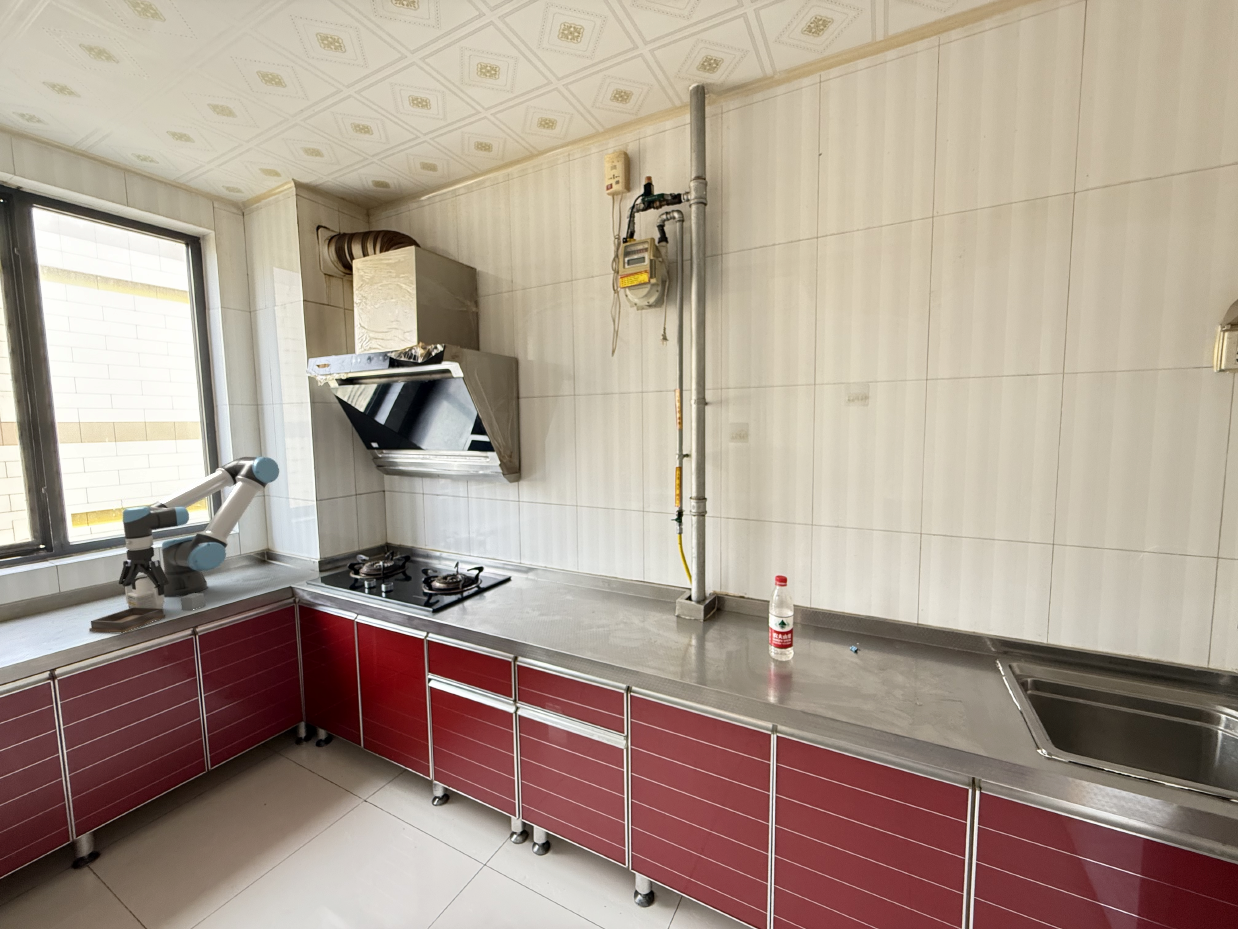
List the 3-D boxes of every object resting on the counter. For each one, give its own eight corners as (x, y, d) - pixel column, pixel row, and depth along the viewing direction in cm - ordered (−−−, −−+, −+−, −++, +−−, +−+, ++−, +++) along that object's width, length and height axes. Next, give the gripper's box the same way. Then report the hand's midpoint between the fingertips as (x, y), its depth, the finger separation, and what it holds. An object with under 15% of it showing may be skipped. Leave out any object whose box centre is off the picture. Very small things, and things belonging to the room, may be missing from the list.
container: (128, 613, 193) (125, 579, 192) (154, 606, 200) (151, 573, 199) (138, 616, 190) (134, 582, 189) (164, 609, 197) (160, 576, 196)
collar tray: (134, 616, 190) (133, 606, 190) (165, 617, 188) (164, 608, 187) (89, 631, 176) (88, 621, 176) (122, 633, 174) (121, 623, 173)
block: (194, 605, 200) (193, 593, 200) (205, 606, 199) (204, 593, 199) (181, 610, 195) (180, 597, 195) (192, 610, 194) (191, 598, 194)
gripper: (101, 549, 191) (108, 605, 193) (156, 551, 187) (162, 607, 189) (124, 545, 199) (130, 598, 201) (177, 546, 195) (182, 600, 196)
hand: (145, 603), depth 195 cm, fingers open, 13 cm apart
